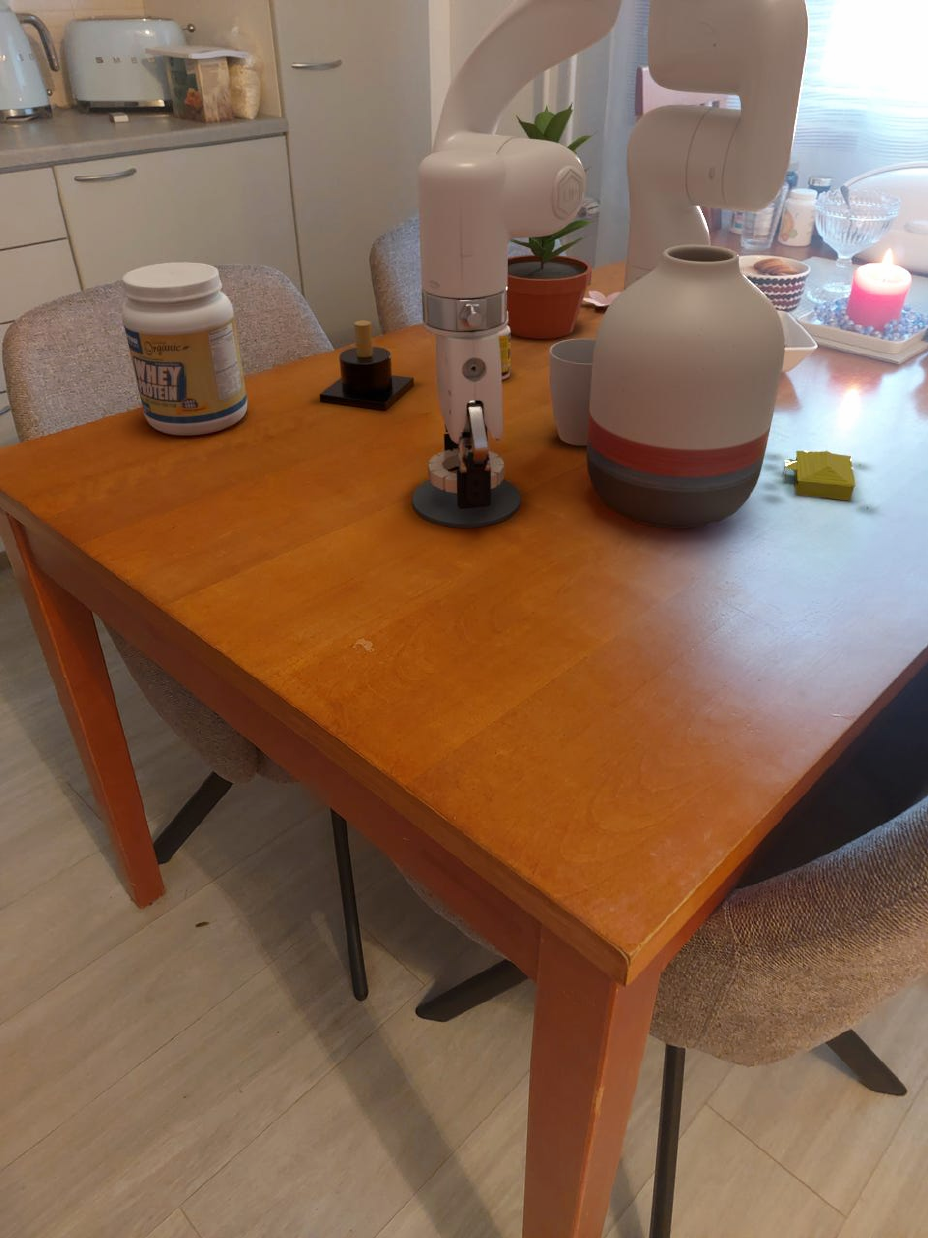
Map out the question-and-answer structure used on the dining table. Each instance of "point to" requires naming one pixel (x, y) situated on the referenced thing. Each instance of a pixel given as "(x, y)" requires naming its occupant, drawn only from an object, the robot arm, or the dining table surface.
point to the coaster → (447, 513)
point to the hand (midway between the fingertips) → (466, 486)
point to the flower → (601, 298)
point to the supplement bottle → (505, 350)
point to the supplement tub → (184, 348)
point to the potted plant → (547, 262)
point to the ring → (451, 460)
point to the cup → (571, 388)
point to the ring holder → (366, 375)
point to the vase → (684, 391)
